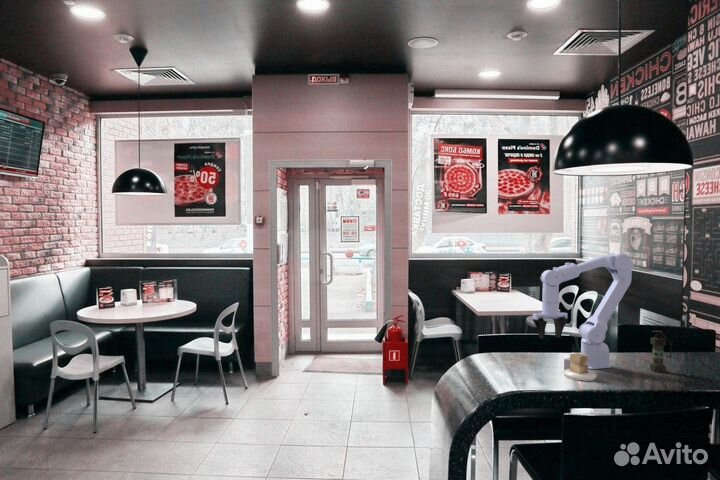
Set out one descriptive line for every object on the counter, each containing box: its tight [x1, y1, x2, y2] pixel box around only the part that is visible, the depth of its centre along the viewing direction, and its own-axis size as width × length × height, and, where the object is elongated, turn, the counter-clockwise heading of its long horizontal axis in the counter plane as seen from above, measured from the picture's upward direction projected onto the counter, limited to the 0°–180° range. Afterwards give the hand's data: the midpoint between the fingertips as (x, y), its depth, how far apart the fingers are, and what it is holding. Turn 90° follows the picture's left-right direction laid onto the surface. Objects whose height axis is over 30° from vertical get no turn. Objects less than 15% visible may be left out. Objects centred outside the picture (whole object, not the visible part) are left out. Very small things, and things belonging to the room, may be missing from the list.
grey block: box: [563, 357, 570, 371], centre depth 174 cm, size 4×4×4 cm
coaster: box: [563, 369, 597, 382], centre depth 165 cm, size 10×10×2 cm
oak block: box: [569, 352, 589, 374], centre depth 165 cm, size 4×4×6 cm
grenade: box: [649, 329, 672, 373], centre depth 173 cm, size 6×6×15 cm
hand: (549, 337), depth 180 cm, fingers open, 7 cm apart
